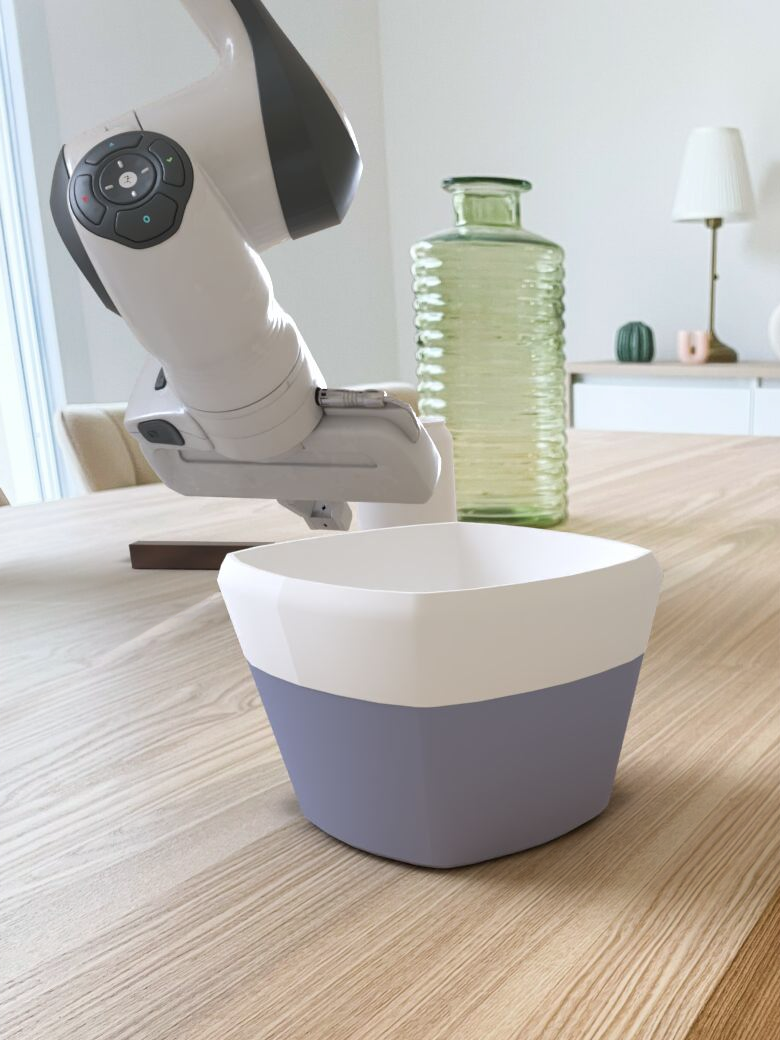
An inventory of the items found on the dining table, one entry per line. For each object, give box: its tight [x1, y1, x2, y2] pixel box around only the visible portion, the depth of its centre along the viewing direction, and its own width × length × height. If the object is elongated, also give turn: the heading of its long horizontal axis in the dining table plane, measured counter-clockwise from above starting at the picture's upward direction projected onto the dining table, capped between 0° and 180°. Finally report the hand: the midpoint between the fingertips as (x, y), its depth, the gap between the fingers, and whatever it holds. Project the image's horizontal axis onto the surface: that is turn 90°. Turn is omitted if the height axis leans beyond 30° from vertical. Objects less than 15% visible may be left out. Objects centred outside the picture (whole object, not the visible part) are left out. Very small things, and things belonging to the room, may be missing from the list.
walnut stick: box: [128, 540, 277, 570], centre depth 110 cm, size 12×2×2 cm, turn 88°
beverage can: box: [355, 416, 458, 531], centre depth 107 cm, size 8×8×12 cm
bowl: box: [216, 521, 665, 869], centre depth 54 cm, size 15×15×11 cm
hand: (332, 523), depth 97 cm, fingers closed
